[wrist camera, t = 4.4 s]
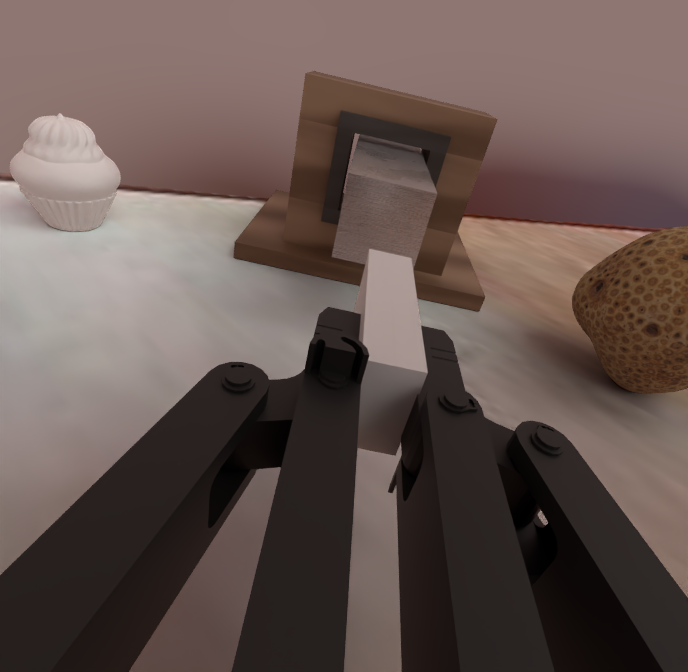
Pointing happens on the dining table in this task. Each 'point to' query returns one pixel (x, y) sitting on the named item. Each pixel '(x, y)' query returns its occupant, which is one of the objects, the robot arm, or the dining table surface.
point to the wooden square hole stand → (330, 173)
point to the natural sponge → (640, 312)
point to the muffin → (65, 174)
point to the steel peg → (384, 201)
